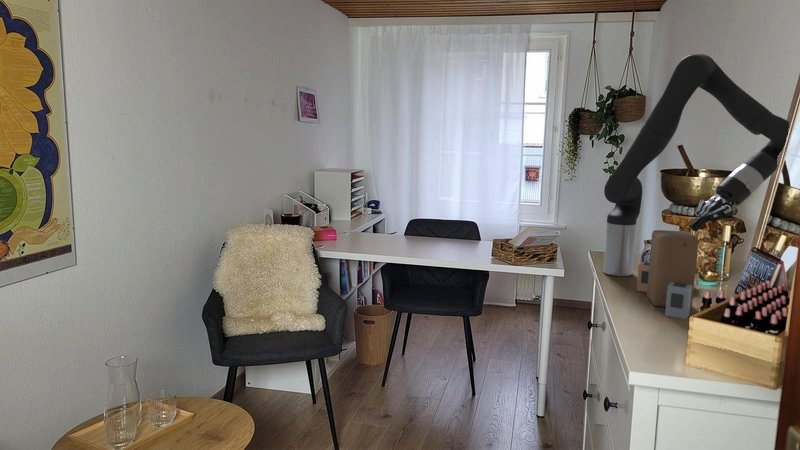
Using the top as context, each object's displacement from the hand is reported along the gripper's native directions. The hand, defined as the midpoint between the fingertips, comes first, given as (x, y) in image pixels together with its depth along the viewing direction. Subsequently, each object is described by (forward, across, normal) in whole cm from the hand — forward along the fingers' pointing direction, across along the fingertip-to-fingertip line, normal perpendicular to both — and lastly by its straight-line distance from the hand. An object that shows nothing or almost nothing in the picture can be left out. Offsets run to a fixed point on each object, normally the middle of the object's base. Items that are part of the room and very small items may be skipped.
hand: (691, 228), depth 158 cm
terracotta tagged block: (+18, -14, +12) cm, 26 cm away
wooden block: (+18, 0, +12) cm, 22 cm away
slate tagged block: (+21, +10, +10) cm, 25 cm away
